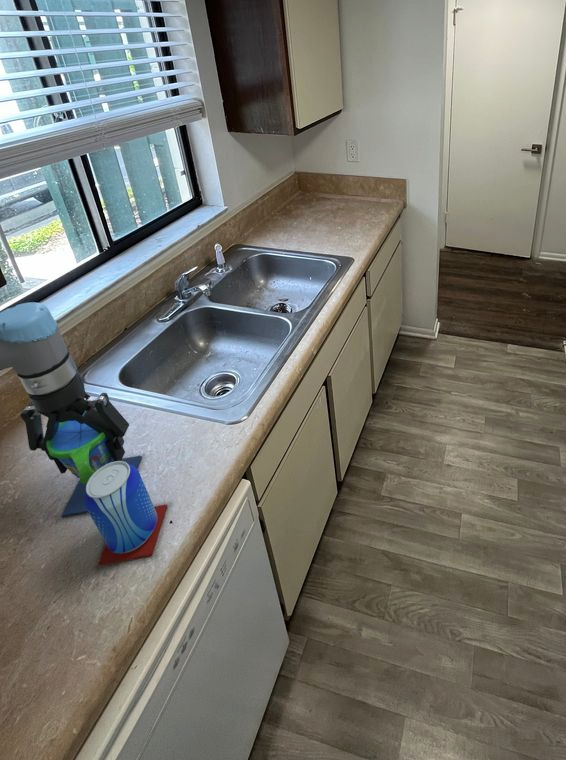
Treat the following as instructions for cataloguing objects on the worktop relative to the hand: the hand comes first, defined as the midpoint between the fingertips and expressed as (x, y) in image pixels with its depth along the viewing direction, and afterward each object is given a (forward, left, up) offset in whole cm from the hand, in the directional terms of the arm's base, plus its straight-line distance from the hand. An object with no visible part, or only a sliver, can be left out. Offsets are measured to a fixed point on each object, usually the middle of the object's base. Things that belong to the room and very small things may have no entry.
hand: (93, 462), depth 88 cm
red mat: (+10, -12, -7) cm, 17 cm away
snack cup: (0, 0, -1) cm, 1 cm away
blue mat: (0, 0, -7) cm, 7 cm away
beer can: (+10, -12, -7) cm, 17 cm away
